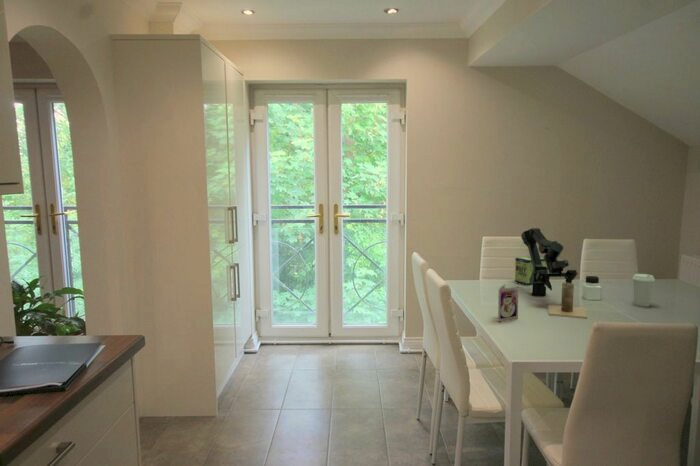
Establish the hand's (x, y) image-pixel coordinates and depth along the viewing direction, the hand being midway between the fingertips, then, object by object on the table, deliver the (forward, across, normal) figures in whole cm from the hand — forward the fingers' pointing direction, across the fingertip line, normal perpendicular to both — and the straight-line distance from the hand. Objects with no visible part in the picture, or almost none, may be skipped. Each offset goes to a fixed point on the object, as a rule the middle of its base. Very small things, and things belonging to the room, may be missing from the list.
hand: (561, 289), depth 226 cm
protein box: (-33, +7, +48) cm, 58 cm away
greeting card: (+18, -33, -5) cm, 38 cm away
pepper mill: (+11, 0, +1) cm, 11 cm away
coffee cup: (+4, +42, +10) cm, 43 cm away
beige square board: (+12, 0, +2) cm, 12 cm away
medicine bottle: (-6, +24, +19) cm, 31 cm away
